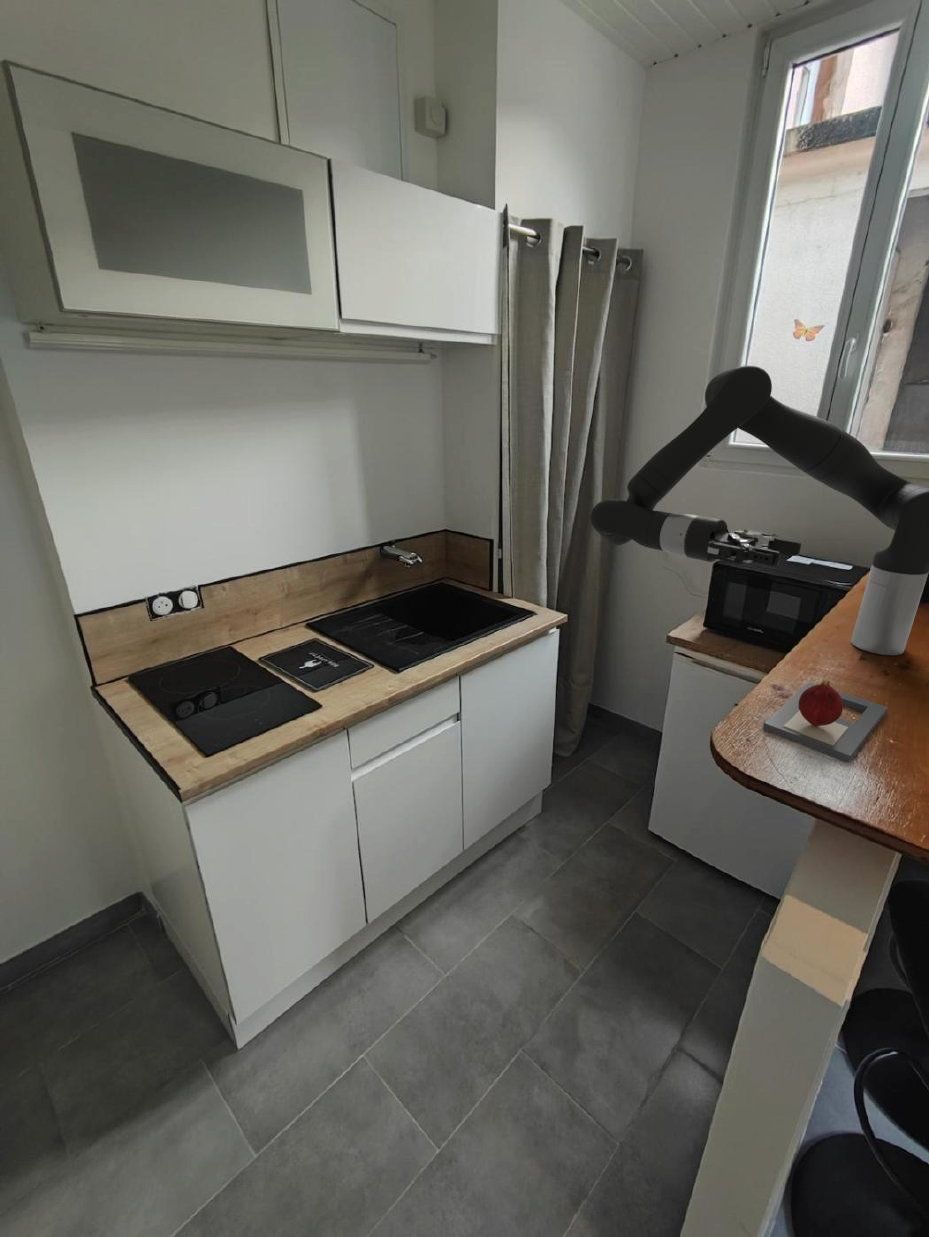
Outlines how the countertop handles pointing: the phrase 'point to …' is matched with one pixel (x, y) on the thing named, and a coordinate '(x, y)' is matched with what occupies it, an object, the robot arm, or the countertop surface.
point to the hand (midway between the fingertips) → (789, 554)
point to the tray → (827, 726)
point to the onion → (821, 704)
